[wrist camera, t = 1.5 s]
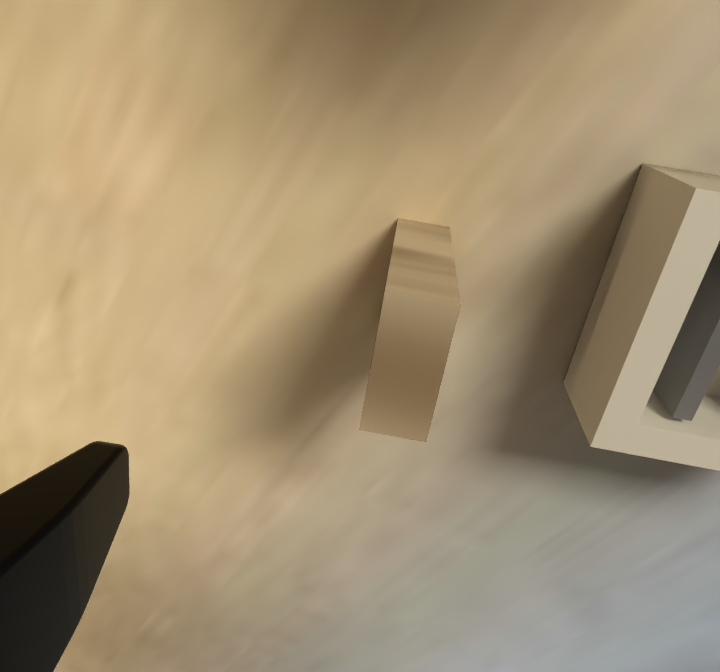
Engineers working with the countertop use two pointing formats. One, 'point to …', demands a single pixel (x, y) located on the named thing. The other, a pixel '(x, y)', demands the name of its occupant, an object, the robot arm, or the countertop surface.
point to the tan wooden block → (412, 332)
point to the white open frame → (656, 327)
